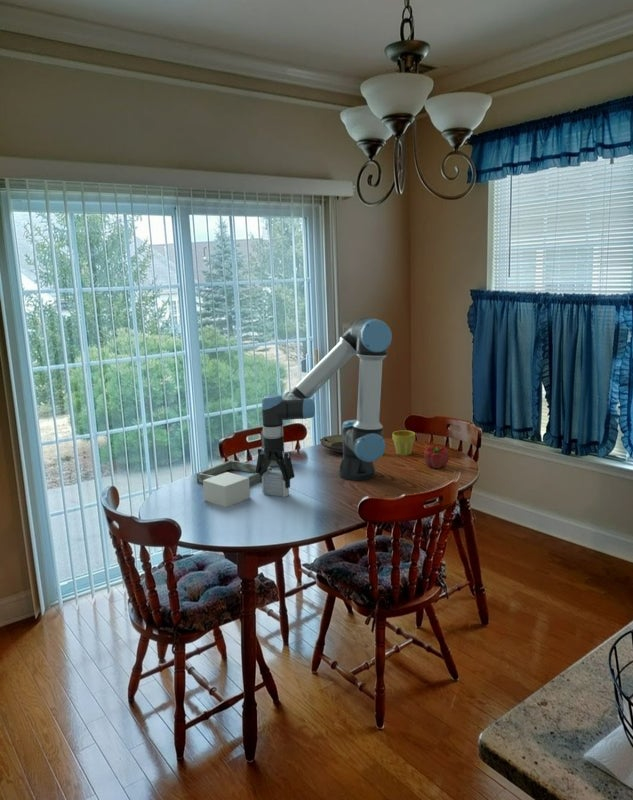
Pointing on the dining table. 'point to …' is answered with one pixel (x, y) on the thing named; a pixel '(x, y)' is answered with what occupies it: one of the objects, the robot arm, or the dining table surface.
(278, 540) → the dining table surface
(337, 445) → the olive brown bowl
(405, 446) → the plant pot
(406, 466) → the dining table surface
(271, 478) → the medicine box
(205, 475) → the bowl tray frame
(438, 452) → the vegetable
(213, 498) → the riser block
